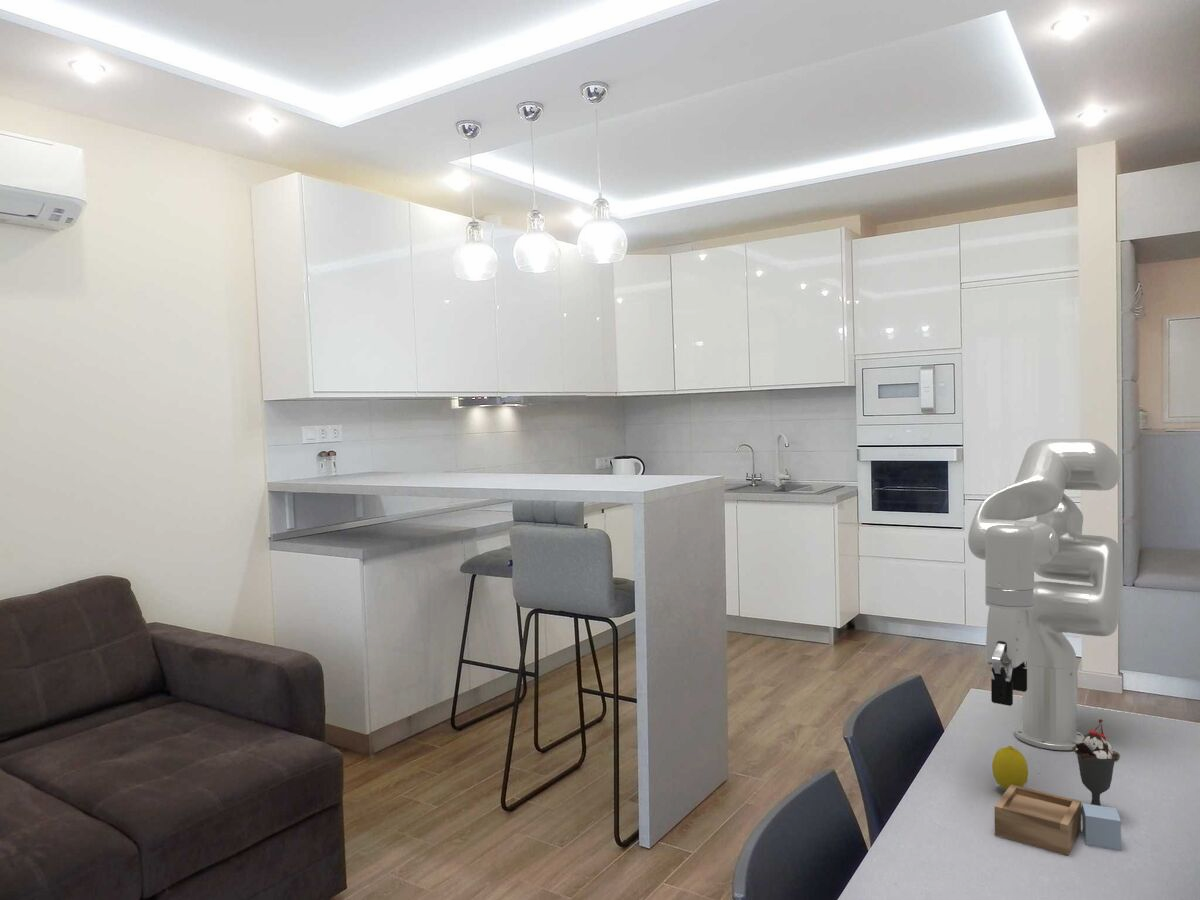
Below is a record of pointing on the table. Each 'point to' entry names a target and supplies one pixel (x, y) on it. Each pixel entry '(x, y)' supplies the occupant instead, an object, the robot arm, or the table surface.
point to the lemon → (1009, 767)
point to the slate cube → (1101, 826)
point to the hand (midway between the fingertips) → (1009, 696)
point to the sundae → (1096, 763)
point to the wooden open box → (1038, 819)
